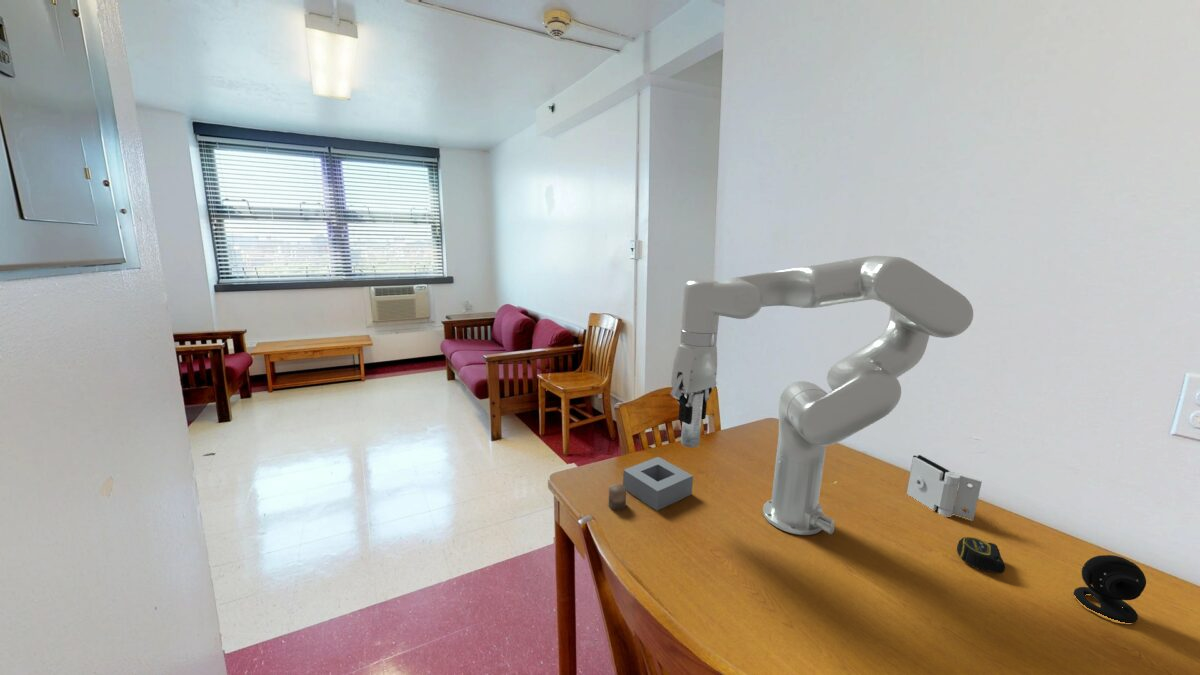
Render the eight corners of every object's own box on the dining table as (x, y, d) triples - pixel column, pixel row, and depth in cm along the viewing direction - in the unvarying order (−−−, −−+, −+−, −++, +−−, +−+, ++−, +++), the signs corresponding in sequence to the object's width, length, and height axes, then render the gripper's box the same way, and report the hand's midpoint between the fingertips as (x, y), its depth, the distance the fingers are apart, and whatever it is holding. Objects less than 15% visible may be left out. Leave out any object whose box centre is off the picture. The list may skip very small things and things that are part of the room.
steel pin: (702, 444, 100) (707, 393, 98) (691, 448, 98) (695, 396, 95) (689, 437, 103) (693, 388, 101) (677, 442, 101) (681, 391, 98)
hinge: (975, 521, 102) (983, 481, 100) (960, 526, 100) (969, 485, 98) (913, 490, 115) (919, 453, 112) (899, 494, 113) (905, 457, 110)
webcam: (1088, 617, 76) (1103, 566, 74) (1062, 586, 83) (1075, 538, 81) (1150, 632, 73) (1168, 579, 71) (1118, 598, 80) (1133, 549, 78)
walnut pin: (629, 506, 105) (629, 489, 104) (615, 512, 103) (616, 494, 102) (618, 498, 108) (618, 481, 107) (605, 504, 106) (605, 487, 105)
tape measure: (1003, 581, 84) (1007, 563, 83) (957, 566, 88) (961, 549, 87) (996, 559, 90) (1000, 543, 89) (953, 546, 93) (957, 530, 93)
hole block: (691, 494, 111) (693, 475, 110) (656, 510, 104) (657, 491, 102) (657, 474, 120) (658, 456, 119) (622, 488, 113) (623, 469, 112)
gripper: (709, 331, 103) (702, 406, 107) (658, 339, 93) (652, 422, 97) (737, 337, 98) (729, 416, 102) (686, 346, 87) (679, 434, 91)
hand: (691, 418), depth 99 cm, fingers closed on steel pin, 4 cm apart
